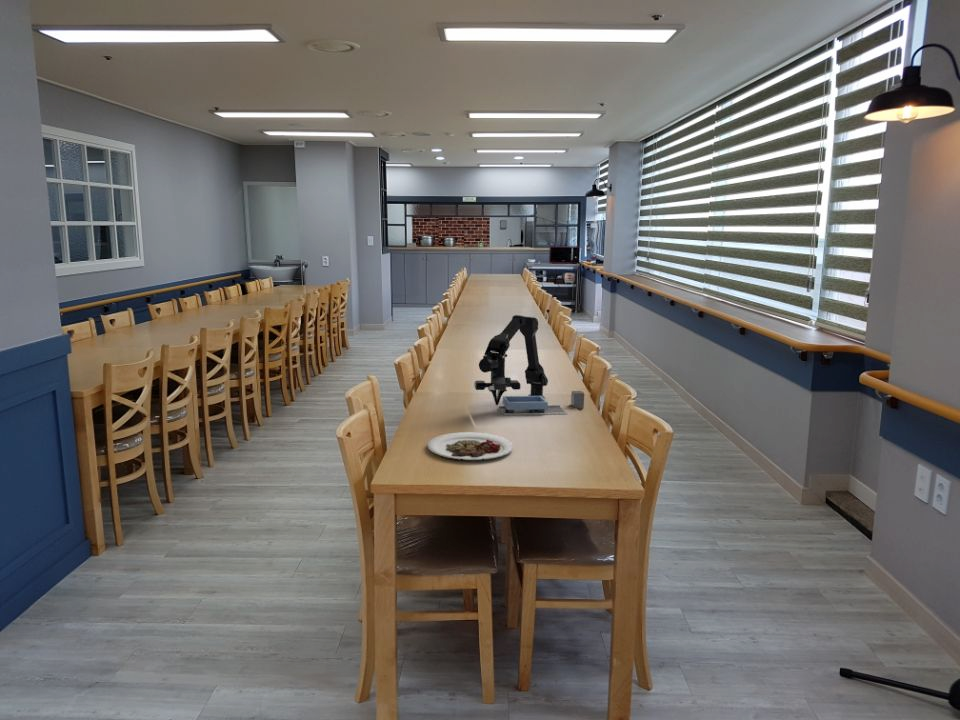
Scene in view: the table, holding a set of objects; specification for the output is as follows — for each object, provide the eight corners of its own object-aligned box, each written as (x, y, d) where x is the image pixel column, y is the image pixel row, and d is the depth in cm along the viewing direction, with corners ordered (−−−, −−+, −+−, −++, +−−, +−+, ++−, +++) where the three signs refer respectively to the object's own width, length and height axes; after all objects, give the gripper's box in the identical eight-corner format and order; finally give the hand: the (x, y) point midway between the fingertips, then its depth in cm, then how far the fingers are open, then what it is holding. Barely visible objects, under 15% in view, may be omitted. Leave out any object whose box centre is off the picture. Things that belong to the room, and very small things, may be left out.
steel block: (570, 406, 304) (571, 390, 303) (580, 406, 305) (581, 390, 303) (573, 409, 300) (574, 393, 298) (583, 408, 300) (584, 393, 299)
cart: (502, 407, 296) (502, 396, 295) (541, 406, 298) (541, 395, 297) (507, 413, 285) (507, 402, 284) (547, 413, 288) (547, 402, 287)
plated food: (415, 441, 250) (416, 432, 249) (491, 433, 262) (491, 425, 261) (445, 468, 223) (445, 458, 222) (528, 458, 235) (528, 448, 234)
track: (498, 408, 297) (498, 405, 297) (559, 408, 301) (559, 404, 300) (503, 417, 284) (503, 413, 284) (567, 416, 288) (567, 412, 288)
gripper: (478, 372, 278) (477, 410, 281) (523, 372, 280) (522, 409, 283) (474, 367, 288) (473, 403, 291) (518, 367, 291) (517, 402, 294)
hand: (496, 405), depth 290 cm, fingers closed
